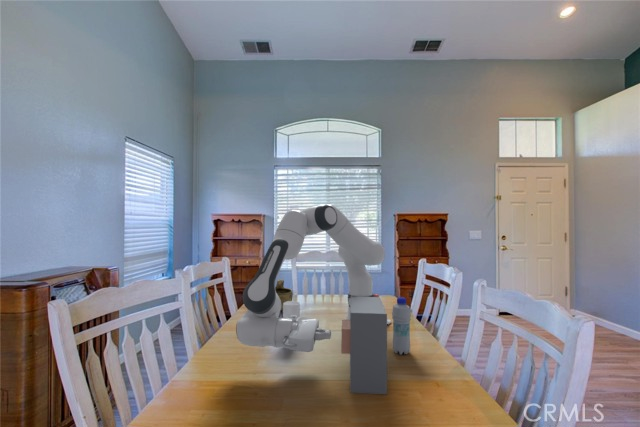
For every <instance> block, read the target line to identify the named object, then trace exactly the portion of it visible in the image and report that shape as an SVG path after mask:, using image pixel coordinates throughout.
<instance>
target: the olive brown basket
mask: <svg viewBox="0 0 640 427" xmlns="http://www.w3.org/2000/svg"><path fill="white" fill-rule="evenodd" d="M284 284H285V280H284V279H282V278H281V279H278V278H277V279H276V284H275V290H276V293H277V294H278V296H279V298H280V300H281V310H280V313H281V312H283V303H284V302H288V301H293V298H294V296H293V289H291V288H288V287H287V288H286V287H285V286H284Z"/></svg>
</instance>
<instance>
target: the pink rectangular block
mask: <svg viewBox="0 0 640 427" xmlns="http://www.w3.org/2000/svg"><path fill="white" fill-rule="evenodd" d="M350 339H351V326H350V320H346V319H342V320H341V346H340V347H341V350H340V351H341V353H340V354H345V355H350Z"/></svg>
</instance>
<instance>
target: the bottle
mask: <svg viewBox="0 0 640 427" xmlns="http://www.w3.org/2000/svg"><path fill="white" fill-rule="evenodd" d="M411 314H412V313H411V306H409V305H408V304H407V299H406V298H405V297H403V296H400V297H397V298H396V304H394V305H393V306H392V312H391V316H392V320H393V321H392V334H393V335H392V350H393V351H394V353H395V354H398V353H399V355H400V356H401V355H403V354H404V355H405V354H406V355H408V354H409V353H410V351H411V338H410V337H411V336H410V335H411V334H410V333H411V330H410V329H411V328H410V327H411V325H410V324H411V317H412V316H411Z"/></svg>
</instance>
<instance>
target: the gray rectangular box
mask: <svg viewBox="0 0 640 427" xmlns="http://www.w3.org/2000/svg"><path fill="white" fill-rule="evenodd" d="M381 299H382V298H381V297H380V296H379V297H358V296H350V326H351V339H350V354H349V374H350V375H349V380H350V382H349V384H350V385H349V386H350V388H349V389H350V392H349V393H353V394H354V393H355V394H368V395H369V394H370V395H371V394H373V395H374V394H375V395H388V325H387V318H388V313H387V311H386V308H385V307H384V304H383V302H382V300H381Z"/></svg>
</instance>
